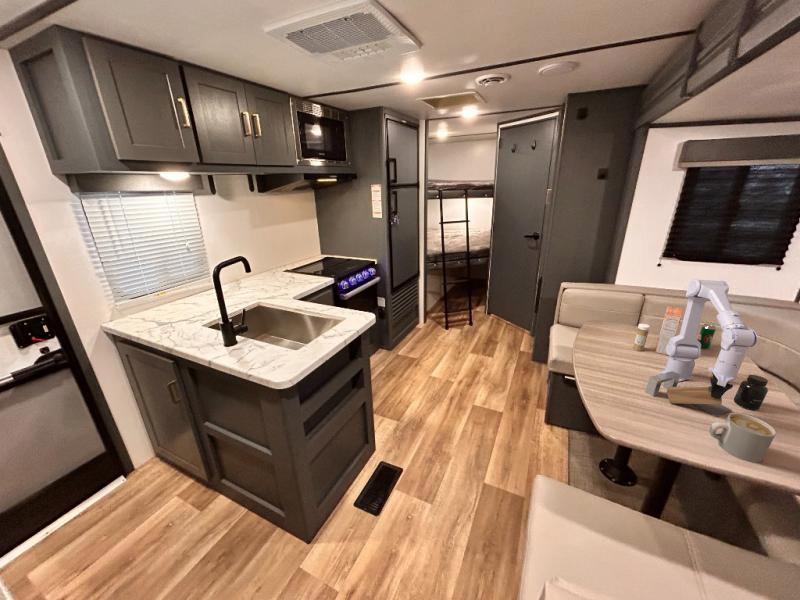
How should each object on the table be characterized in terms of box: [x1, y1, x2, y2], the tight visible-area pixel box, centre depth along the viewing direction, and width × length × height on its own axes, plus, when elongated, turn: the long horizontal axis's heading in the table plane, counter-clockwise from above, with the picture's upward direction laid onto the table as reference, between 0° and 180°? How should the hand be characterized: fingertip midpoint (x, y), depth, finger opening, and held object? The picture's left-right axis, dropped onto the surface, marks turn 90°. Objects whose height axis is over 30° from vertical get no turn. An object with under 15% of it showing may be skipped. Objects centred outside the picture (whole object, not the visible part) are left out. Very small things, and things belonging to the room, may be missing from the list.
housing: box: [644, 371, 680, 397], centre depth 125 cm, size 13×3×7 cm, turn 108°
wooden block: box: [666, 385, 723, 405], centre depth 115 cm, size 4×14×5 cm, turn 45°
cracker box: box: [654, 305, 683, 357], centre depth 154 cm, size 14×6×21 cm, turn 138°
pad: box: [691, 404, 733, 417], centre depth 119 cm, size 9×15×1 cm, turn 18°
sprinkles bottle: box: [632, 323, 651, 352], centre depth 155 cm, size 5×5×13 cm
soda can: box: [696, 323, 717, 350], centre depth 157 cm, size 5×5×12 cm
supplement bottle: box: [733, 374, 769, 411], centre depth 115 cm, size 7×7×12 cm
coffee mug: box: [708, 412, 777, 463], centre depth 97 cm, size 13×10×10 cm
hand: (715, 394), depth 110 cm, fingers closed on wooden block, 5 cm apart
